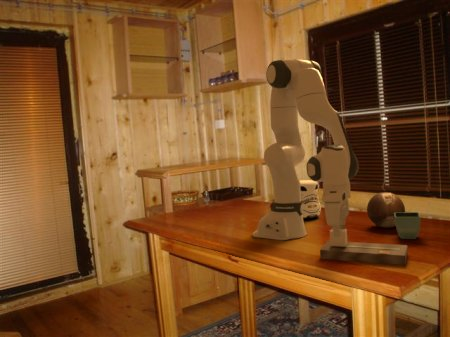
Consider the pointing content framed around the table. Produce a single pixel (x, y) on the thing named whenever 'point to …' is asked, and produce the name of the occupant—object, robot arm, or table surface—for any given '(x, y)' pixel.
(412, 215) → the flower pot
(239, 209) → the table surface
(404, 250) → the track board
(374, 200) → the brown leather ball
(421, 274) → the table surface
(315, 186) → the milk container
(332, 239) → the fader
